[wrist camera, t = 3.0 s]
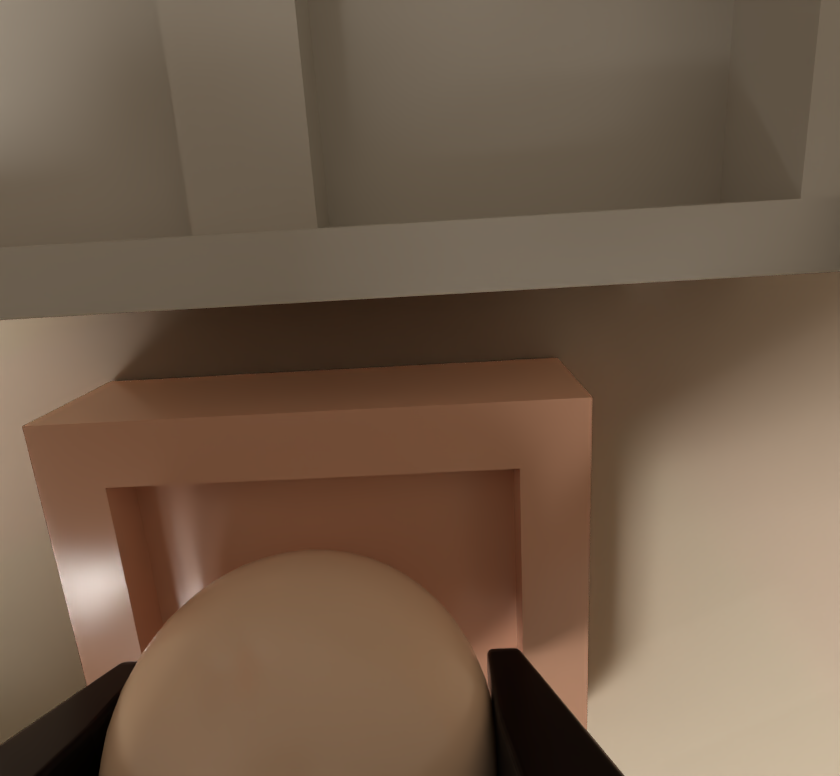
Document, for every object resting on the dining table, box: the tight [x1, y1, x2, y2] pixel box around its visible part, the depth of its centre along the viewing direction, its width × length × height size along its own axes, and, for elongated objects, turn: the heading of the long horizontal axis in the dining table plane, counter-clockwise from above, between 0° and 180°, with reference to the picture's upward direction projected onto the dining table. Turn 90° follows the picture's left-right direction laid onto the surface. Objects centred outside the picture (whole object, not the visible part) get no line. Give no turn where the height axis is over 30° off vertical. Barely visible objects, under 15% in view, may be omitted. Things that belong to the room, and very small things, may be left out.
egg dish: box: [22, 358, 592, 730], centre depth 10 cm, size 7×7×2 cm
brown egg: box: [99, 549, 498, 776], centre depth 7 cm, size 4×4×4 cm
